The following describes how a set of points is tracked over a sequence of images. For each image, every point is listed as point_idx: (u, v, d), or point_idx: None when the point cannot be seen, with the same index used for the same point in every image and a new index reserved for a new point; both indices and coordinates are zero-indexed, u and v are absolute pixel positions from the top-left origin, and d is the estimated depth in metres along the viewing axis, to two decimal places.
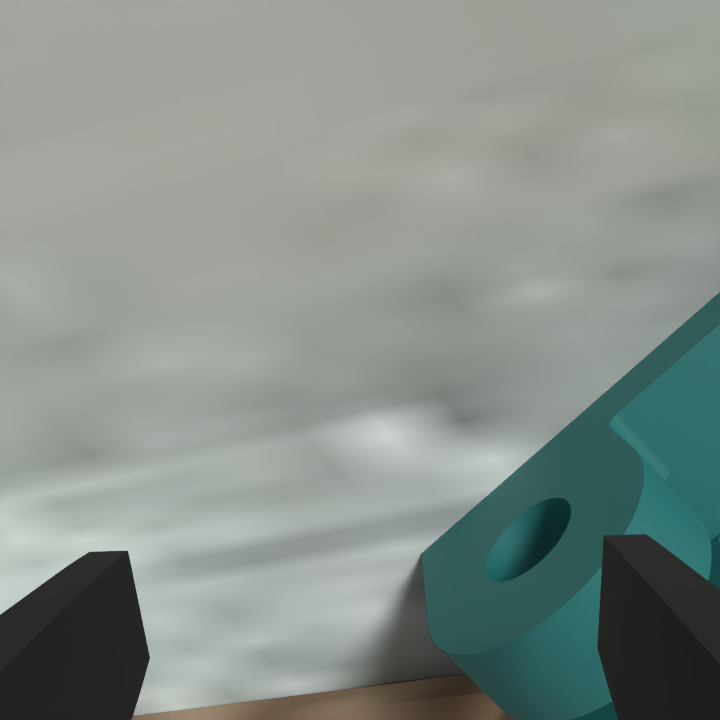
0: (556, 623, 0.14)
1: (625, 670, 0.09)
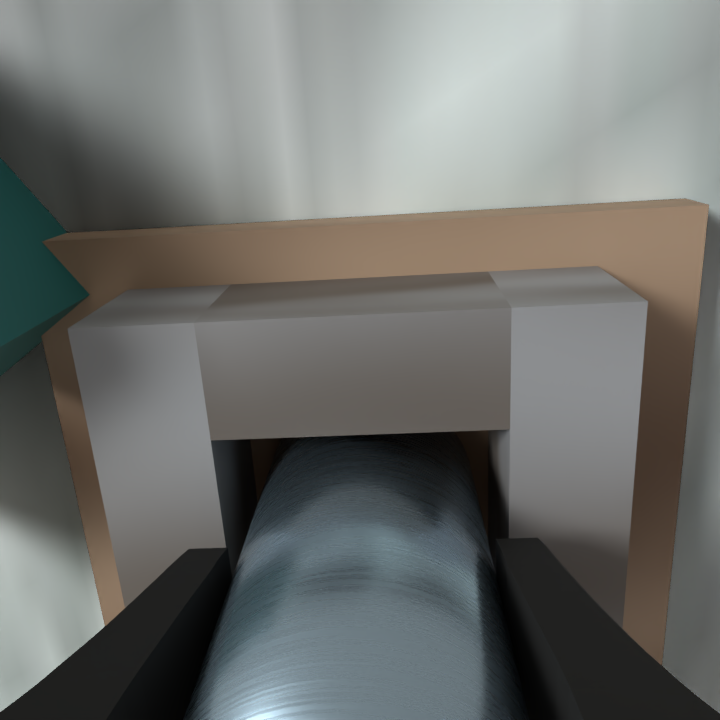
0: None
1: None
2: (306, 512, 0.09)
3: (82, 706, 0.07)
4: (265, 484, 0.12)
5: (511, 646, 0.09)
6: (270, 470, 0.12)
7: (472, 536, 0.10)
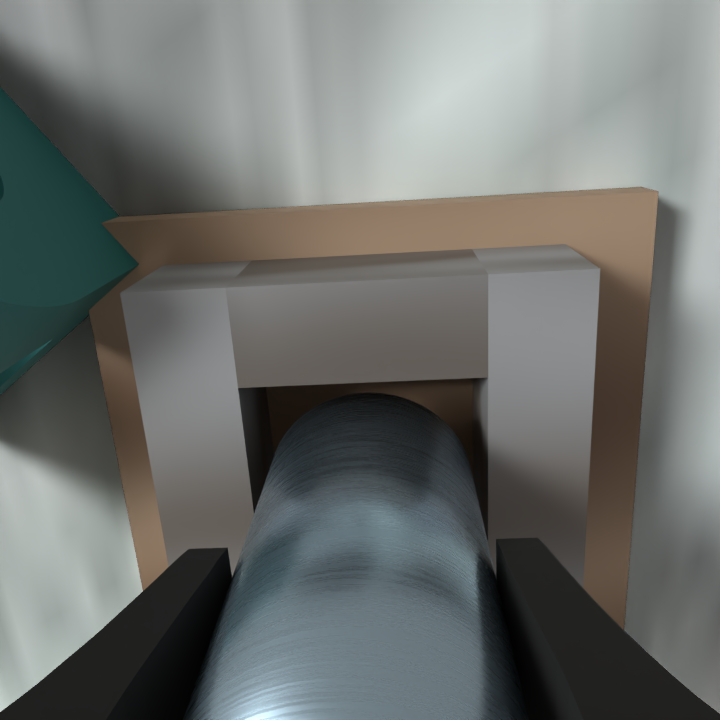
0: None
1: None
2: (306, 511, 0.09)
3: (83, 707, 0.07)
4: (265, 484, 0.12)
5: (511, 646, 0.09)
6: (270, 470, 0.12)
7: (471, 536, 0.10)
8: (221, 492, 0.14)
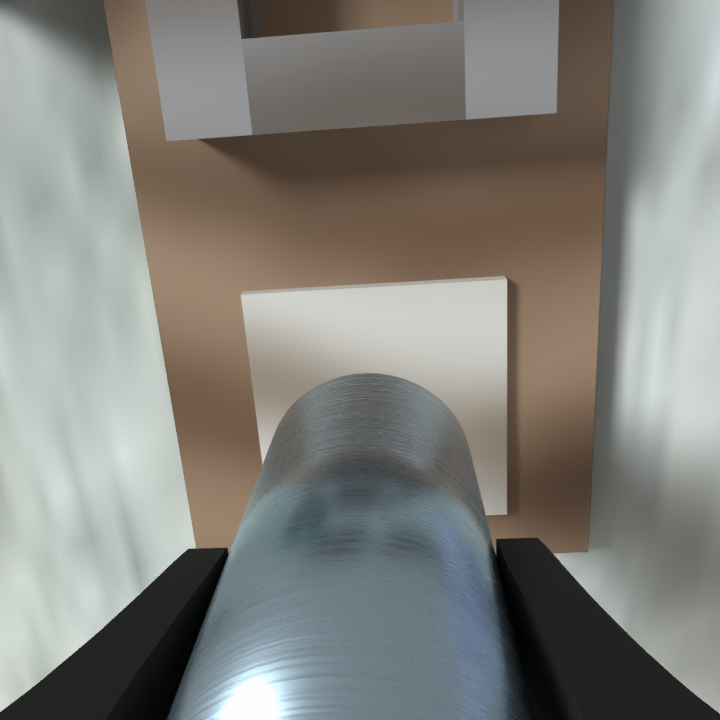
0: None
1: None
2: (304, 482, 0.09)
3: (82, 708, 0.07)
4: (263, 463, 0.12)
5: (509, 614, 0.09)
6: (268, 449, 0.12)
7: (470, 508, 0.10)
8: None
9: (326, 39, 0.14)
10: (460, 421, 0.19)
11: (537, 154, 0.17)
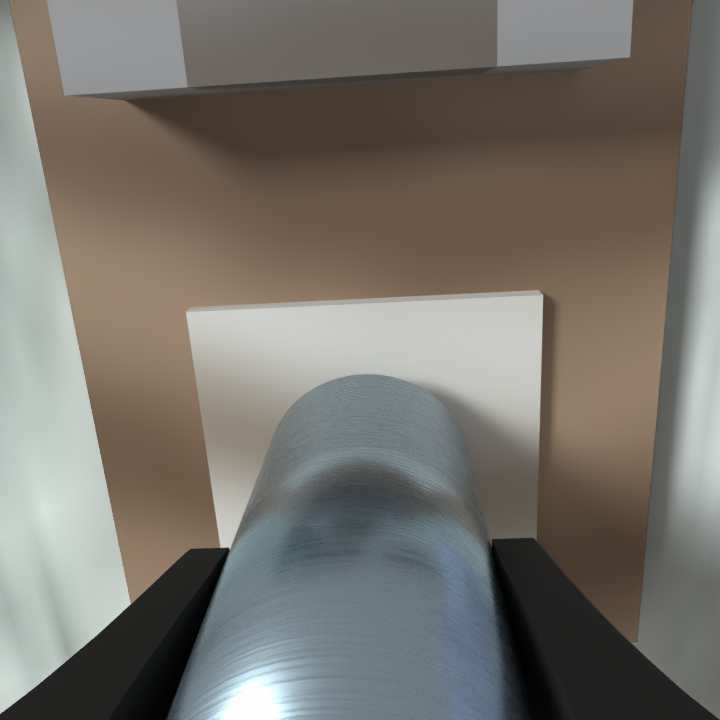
0: None
1: None
2: (303, 483, 0.09)
3: (85, 708, 0.07)
4: (263, 464, 0.12)
5: (508, 615, 0.09)
6: (268, 450, 0.12)
7: (469, 510, 0.10)
8: None
9: None
10: (476, 479, 0.15)
11: (587, 126, 0.13)
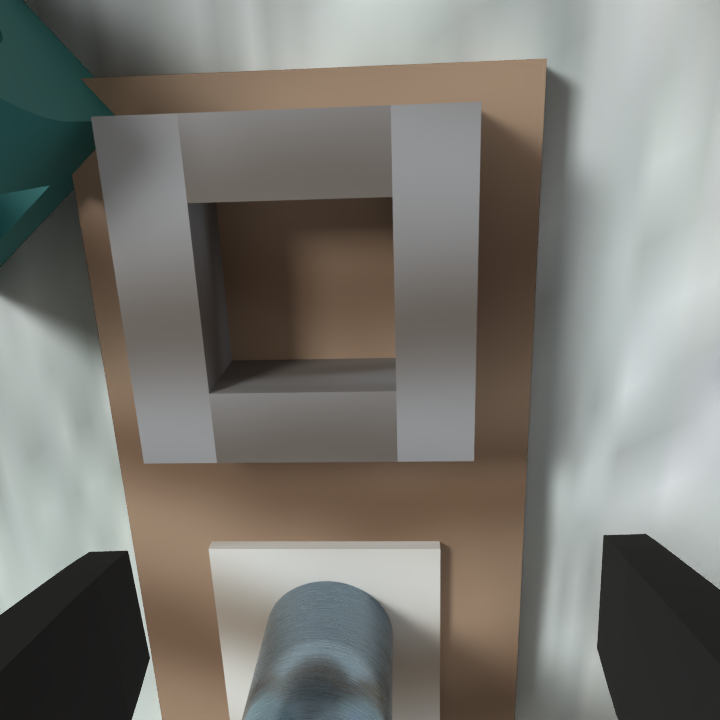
0: None
1: (624, 670, 0.09)
2: (284, 683, 0.17)
3: None
4: (263, 644, 0.20)
5: None
6: (266, 632, 0.20)
7: (375, 695, 0.18)
8: (173, 298, 0.16)
9: (280, 397, 0.17)
10: (399, 655, 0.22)
11: None
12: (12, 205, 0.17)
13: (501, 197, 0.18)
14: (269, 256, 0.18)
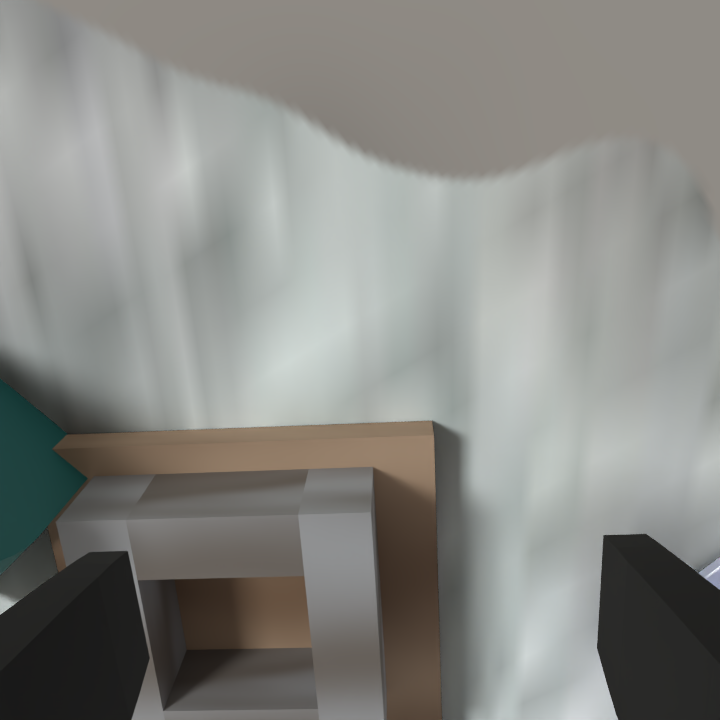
0: None
1: (625, 670, 0.09)
2: None
3: None
4: None
5: None
6: None
7: None
8: None
9: (222, 714, 0.20)
10: None
11: (391, 715, 0.23)
12: None
13: (404, 532, 0.21)
14: None
